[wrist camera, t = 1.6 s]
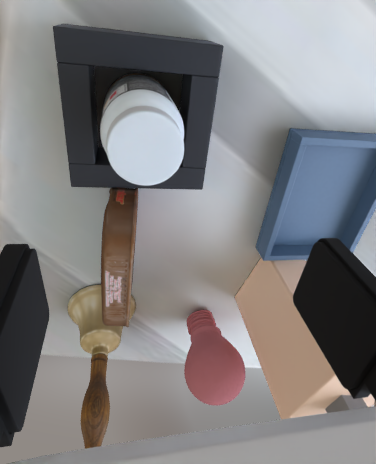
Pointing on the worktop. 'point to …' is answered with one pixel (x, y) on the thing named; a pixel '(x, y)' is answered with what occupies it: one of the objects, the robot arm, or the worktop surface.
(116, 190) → the tin
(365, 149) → the tray
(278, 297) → the soap dispenser
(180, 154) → the pill bottle
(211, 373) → the light bulb
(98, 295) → the hand bell
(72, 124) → the socket base
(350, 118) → the worktop surface
